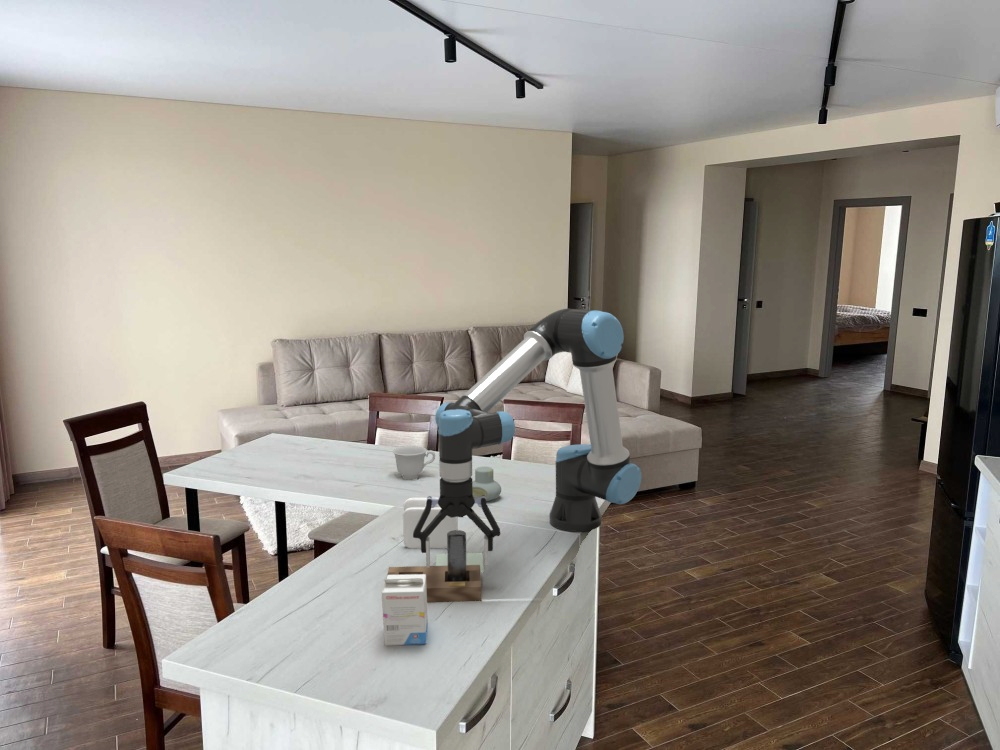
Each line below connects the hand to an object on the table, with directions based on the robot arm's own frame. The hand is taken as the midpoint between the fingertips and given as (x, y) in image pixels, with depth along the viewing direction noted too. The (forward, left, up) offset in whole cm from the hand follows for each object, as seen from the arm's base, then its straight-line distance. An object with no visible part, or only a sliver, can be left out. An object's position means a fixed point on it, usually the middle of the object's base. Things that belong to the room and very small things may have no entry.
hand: (457, 564), depth 172 cm
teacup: (+16, -89, -7) cm, 91 cm away
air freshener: (-8, -65, -7) cm, 66 cm away
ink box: (+11, +20, -7) cm, 24 cm away
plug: (0, 0, -6) cm, 6 cm away
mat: (0, -14, -6) cm, 15 cm away
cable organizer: (+8, -29, -7) cm, 31 cm away
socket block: (+6, 0, -6) cm, 8 cm away
